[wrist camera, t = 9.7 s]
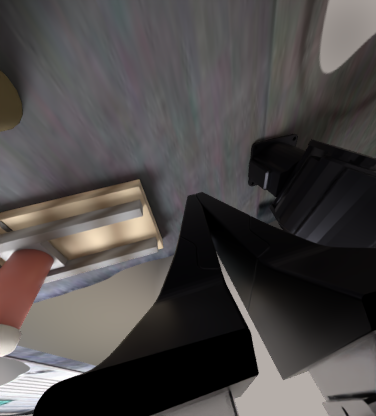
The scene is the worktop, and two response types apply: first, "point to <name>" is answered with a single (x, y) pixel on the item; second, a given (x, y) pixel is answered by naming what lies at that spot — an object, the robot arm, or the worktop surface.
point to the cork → (9, 104)
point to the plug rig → (86, 228)
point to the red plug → (22, 287)
